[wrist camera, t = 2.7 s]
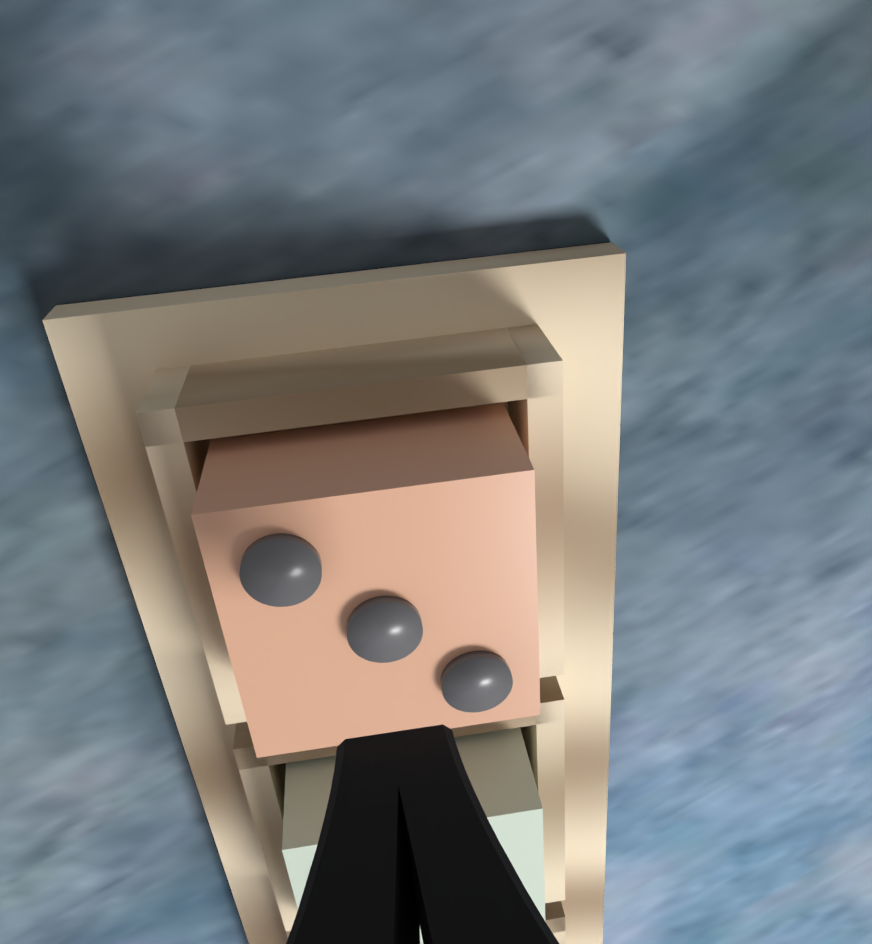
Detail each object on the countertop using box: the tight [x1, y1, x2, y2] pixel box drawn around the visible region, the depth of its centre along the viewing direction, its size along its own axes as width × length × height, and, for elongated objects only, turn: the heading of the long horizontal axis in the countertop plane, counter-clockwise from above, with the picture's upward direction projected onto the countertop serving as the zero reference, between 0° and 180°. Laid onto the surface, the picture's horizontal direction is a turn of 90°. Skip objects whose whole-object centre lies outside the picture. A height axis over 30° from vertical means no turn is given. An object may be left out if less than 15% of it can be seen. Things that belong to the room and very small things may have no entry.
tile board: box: [42, 242, 626, 944], centre depth 20 cm, size 24×10×3 cm, turn 5°
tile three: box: [191, 403, 540, 758], centre depth 14 cm, size 5×5×3 cm
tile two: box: [282, 727, 545, 944], centre depth 18 cm, size 5×5×3 cm
